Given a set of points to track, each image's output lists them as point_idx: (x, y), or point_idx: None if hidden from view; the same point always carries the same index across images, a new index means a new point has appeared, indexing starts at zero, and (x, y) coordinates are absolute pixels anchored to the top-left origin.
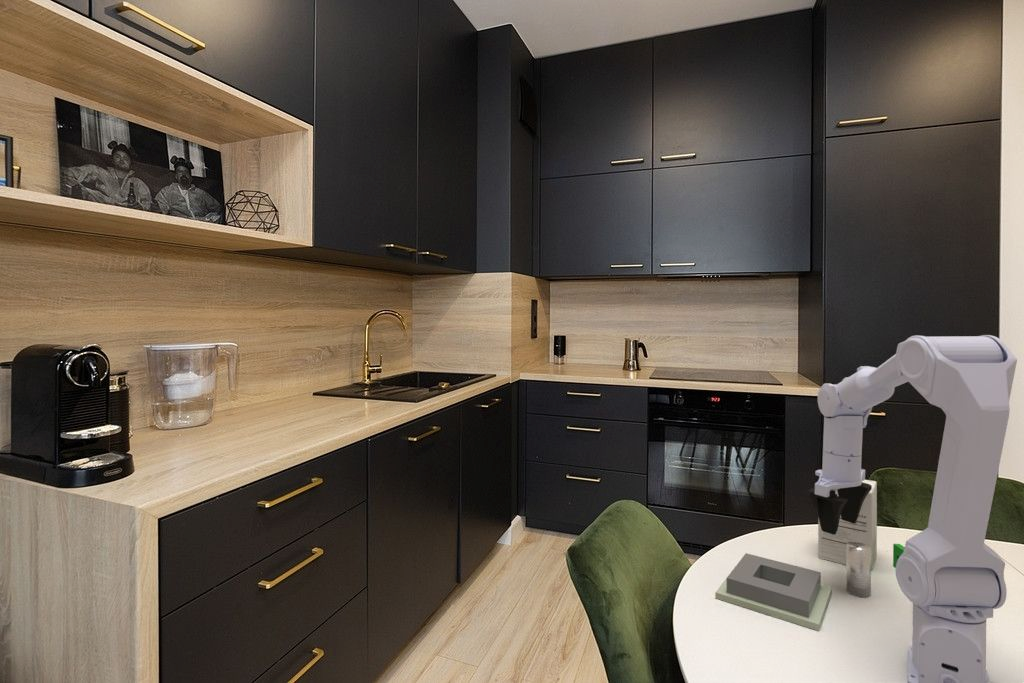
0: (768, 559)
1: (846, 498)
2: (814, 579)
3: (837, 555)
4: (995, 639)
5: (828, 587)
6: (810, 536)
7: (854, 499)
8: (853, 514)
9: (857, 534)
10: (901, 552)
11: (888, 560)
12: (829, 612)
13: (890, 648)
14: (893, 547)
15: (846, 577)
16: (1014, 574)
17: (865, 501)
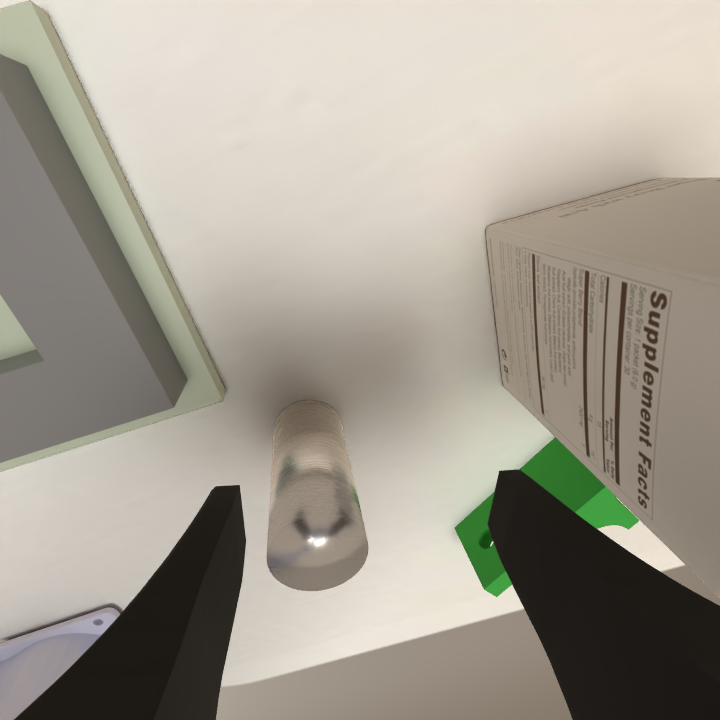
0: (46, 195)
1: (595, 632)
2: (77, 427)
3: (504, 302)
4: (335, 640)
5: (208, 396)
6: (715, 83)
7: (584, 683)
8: (515, 566)
9: (571, 415)
10: None
11: None
12: (87, 444)
13: (71, 586)
14: None
15: (286, 432)
16: None
17: None
